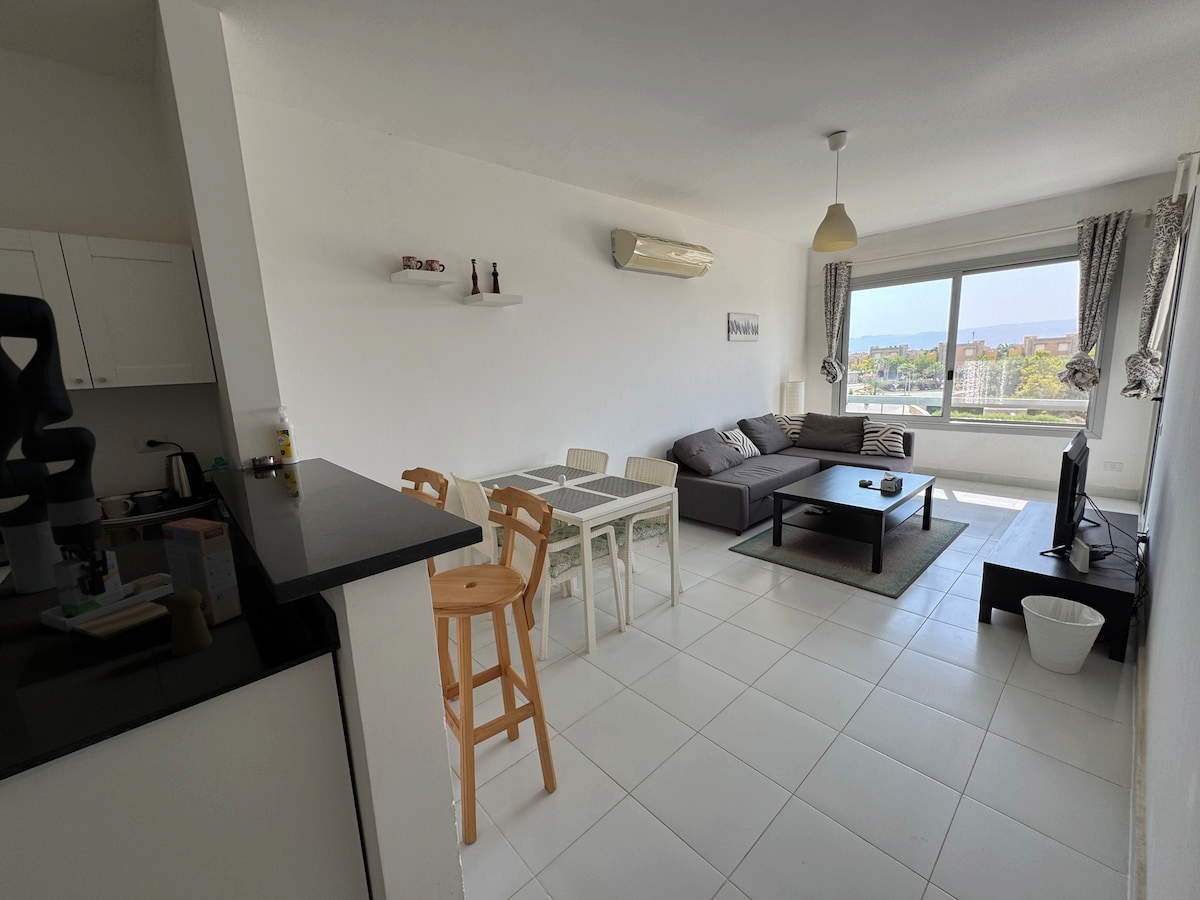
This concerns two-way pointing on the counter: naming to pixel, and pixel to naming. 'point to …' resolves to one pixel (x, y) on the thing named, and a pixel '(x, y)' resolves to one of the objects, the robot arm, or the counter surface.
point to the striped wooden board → (121, 619)
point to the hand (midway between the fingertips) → (91, 591)
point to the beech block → (146, 584)
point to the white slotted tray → (59, 621)
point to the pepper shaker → (187, 623)
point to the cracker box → (203, 565)
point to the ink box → (85, 586)
